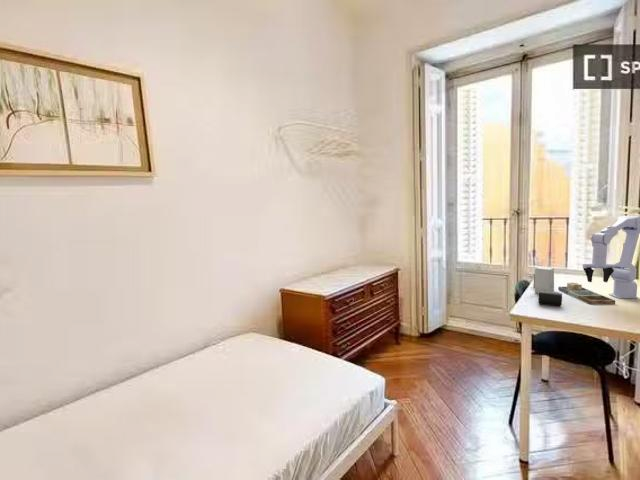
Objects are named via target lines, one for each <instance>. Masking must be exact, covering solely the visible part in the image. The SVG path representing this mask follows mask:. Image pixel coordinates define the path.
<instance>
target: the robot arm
mask: <svg viewBox="0 0 640 480" xmlns="http://www.w3.org/2000/svg"><path fill="white" fill-rule="evenodd" d="M616 220H617V221H616V222H615V223H614V224H613V225H607V226H606V227H605V228H603V229H601V230H600V231H599V232H595V233H593V234H592V235H591V237H590V241H591V245H592V261H591V263H582V269H583V271H584V274H585V275H586V279H587V282H588V283H592V282H593V275H594V271H595V269H602V272H603V277H602V281H603V283H608V281H609V279H610V277H611V279H612V280H613V291H612V292H613V293H608V295H610V296H612V297H615V298H617V299H638V298H639V297H638V296H637V295H638V293H637V292H638V284H637V282H636V281H635V280H636V279H637V275H638V274H637V267H636V266H635V265H634V264H633V260H634V255H635V253H636V247H637V245H638V244H637V243H638V240H639V236H640V215H636V216H635V215H619V217H617V219H616ZM620 230H622V231H623V232H624V233H625V234H626V235H625V240H624V243H623V248H622V252H621V255H620V259H619V262H617V263H613V264H610V263H607V253H608V245H610V243H611V240H613V238H614V237H615V236H617V235H618V233H619V231H620Z"/></svg>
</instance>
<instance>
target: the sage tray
mask: <svg viewBox="0 0 640 480" xmlns="http://www.w3.org/2000/svg"><path fill="white" fill-rule="evenodd" d="M567 295H568V296H571V297H573V298H575V299H577V300H579V296H603V295H602V294H600V293H598V292H595V291H592V290H590V291H568V294H567Z"/></svg>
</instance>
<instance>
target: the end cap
mask: <svg viewBox="0 0 640 480" xmlns="http://www.w3.org/2000/svg"><path fill="white" fill-rule="evenodd" d="M562 293H563V292H562ZM562 293H561V292H560V291H559V292H558V291H554V292H553V293H552V292H547V291H539V293H538V304H539V305H544V306H545V305H546V306H555V307H561V306H562V305H563V304H562V303H563V294H562Z"/></svg>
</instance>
